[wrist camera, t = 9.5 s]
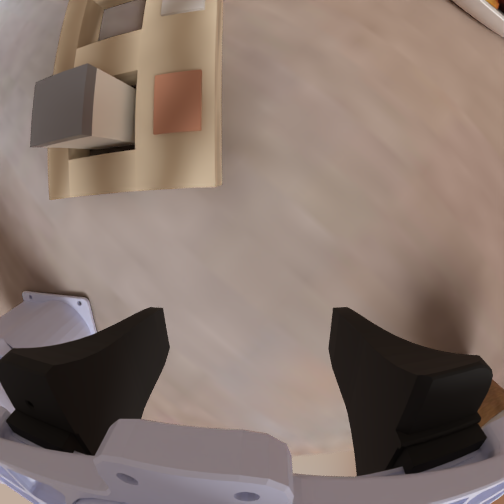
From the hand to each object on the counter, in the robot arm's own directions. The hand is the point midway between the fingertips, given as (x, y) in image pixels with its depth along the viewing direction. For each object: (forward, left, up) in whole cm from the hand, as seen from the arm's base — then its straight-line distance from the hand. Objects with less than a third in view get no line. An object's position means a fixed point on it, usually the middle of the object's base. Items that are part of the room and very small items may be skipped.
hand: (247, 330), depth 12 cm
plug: (-10, +11, -10) cm, 18 cm away
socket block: (-9, +15, -10) cm, 20 cm away
